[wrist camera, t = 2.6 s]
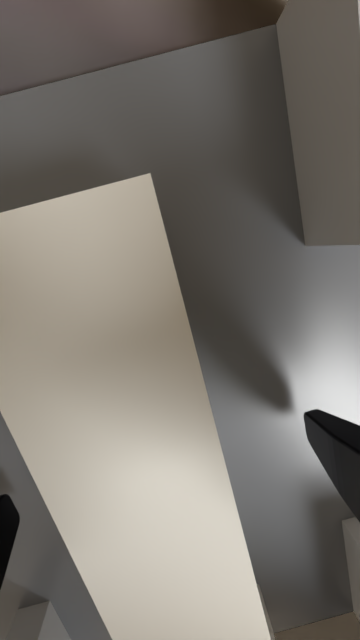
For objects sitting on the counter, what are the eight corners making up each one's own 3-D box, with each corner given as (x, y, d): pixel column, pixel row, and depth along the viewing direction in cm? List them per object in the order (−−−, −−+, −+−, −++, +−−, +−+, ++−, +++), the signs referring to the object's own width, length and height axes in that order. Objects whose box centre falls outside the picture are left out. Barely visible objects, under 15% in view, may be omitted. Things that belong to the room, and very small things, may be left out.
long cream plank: (266, 613, 11) (311, 767, 8) (169, 639, 11) (173, 806, 8) (161, 202, 7) (163, 161, 4) (7, 243, 7) (-126, 238, 4)
